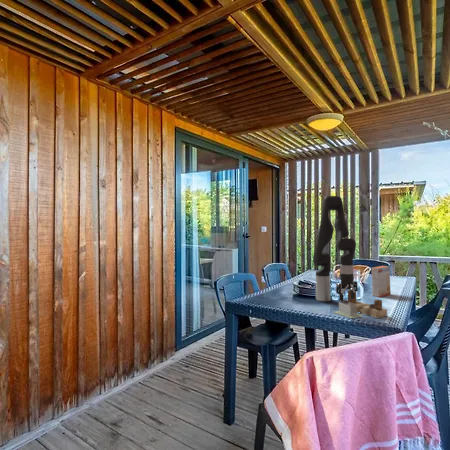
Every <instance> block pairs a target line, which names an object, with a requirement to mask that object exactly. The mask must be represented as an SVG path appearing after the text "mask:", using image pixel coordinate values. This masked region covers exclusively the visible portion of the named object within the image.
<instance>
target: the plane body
mask: <svg viewBox="0 0 450 450" xmlns="http://www.w3.org/2000/svg"><path fill="white" fill-rule="evenodd" d="M347 300H348V302H350V303H353V304H357V313H358V312H360V313H359V314H362V313H363V314H362V315H365V314H366V316H368V315H370V316H369V317H371V316H373V317H372V318H375V317H376V318H375V319H380V318H379V317H381V318H385V317H384V316H386V317H388V309H387V308H383V301H382V300H381V299H374V301H373V303H371V304H369V303H365V302H361V301H358V300H357V291H356V292H355V299H351V291H350V290H347Z"/></svg>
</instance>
